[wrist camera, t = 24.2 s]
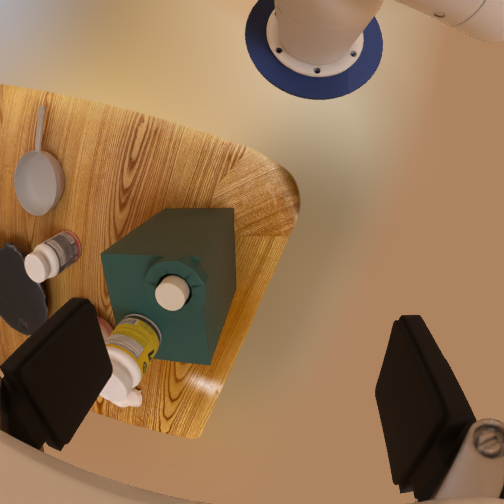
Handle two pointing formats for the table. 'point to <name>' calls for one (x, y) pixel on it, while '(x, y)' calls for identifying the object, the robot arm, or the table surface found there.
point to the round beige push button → (172, 292)
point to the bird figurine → (131, 399)
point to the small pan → (38, 177)
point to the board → (20, 293)
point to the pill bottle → (52, 256)
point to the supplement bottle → (130, 354)
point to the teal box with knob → (180, 264)
